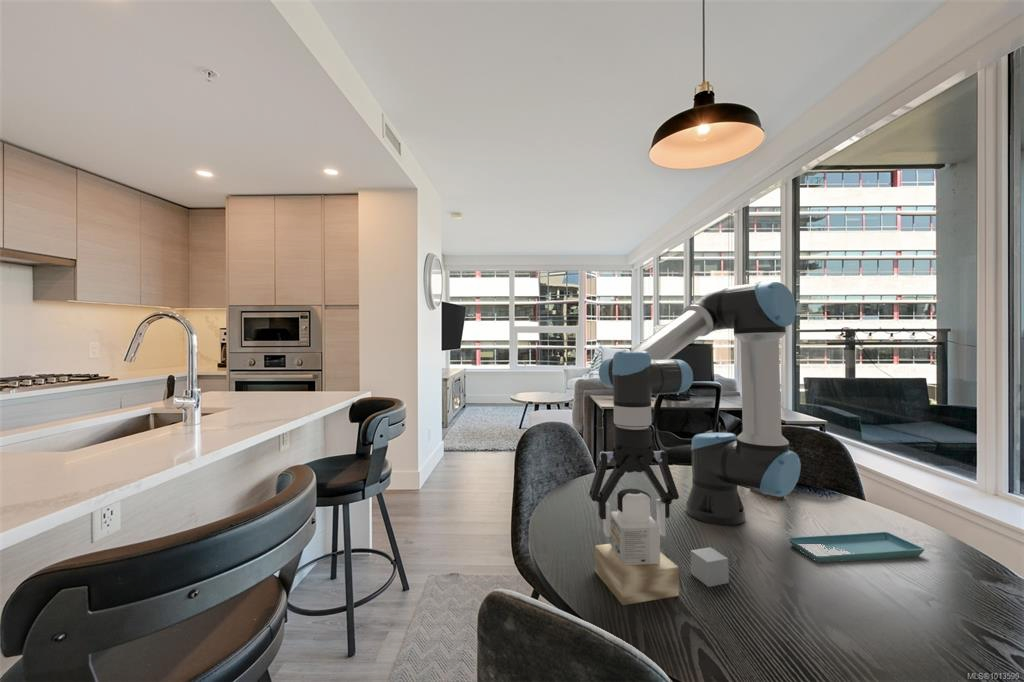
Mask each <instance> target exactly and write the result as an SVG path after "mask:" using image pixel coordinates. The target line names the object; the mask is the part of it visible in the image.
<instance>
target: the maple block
mask: <svg viewBox="0 0 1024 682" xmlns="http://www.w3.org/2000/svg"><path fill="white" fill-rule="evenodd" d="M594 569H595V570H594V571H595V573H596V574H597V576H598V577H599V578H600V580H602V582H603V583H604V584H605V585H606V587H607V588H608V589H609V590H610V592H611V593H612V594H613V595H614V596H615V598H616V599H617V600H618V602H619V603H620V604H621V605H622V606H625V605H632V604H637V603H643V602H648V601H649V602H650V601H655V600H662V599H667V598H668V599H669V598H674V597H679V596H680V579H679V578H680V577H679V575H680V572H679V566H678V565H677V564H675V562H673V561H672V560H671V559H670V558H669V557H667V556H666V555H665V554H664V553H662V551H660V564H650V565H625V566H624V565H622V564H621V562H620V560H619V559H618V557H617V556H616V554H615V552H614V551H613V549H612V547H611V543H606V544H605V543H604V544H596V545H594Z"/></svg>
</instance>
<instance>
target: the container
mask: <svg viewBox="0 0 1024 682" xmlns="http://www.w3.org/2000/svg"><path fill="white" fill-rule="evenodd" d="M616 494H617V501H616V502H617V511H616V510H615V511H614V510H613V511H610V544H611V547H612V549H613V551H614V552H615V554H616V556H617V557H618V559H619V560H620V562H621V564H622V565H624V566H625V565H650V564H660V552H661V535H660V526H659V524H658V523H657V520H655V519H654V518H653V517H652V515H651V514H652V513H651V511H652V509H651V508H652V507H651V505H652V504H651V496H650V494H649V493H648V492H646V491H644V490H641V489H639V488H625V489H622V490H620V491H619V492H617V493H616Z"/></svg>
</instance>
